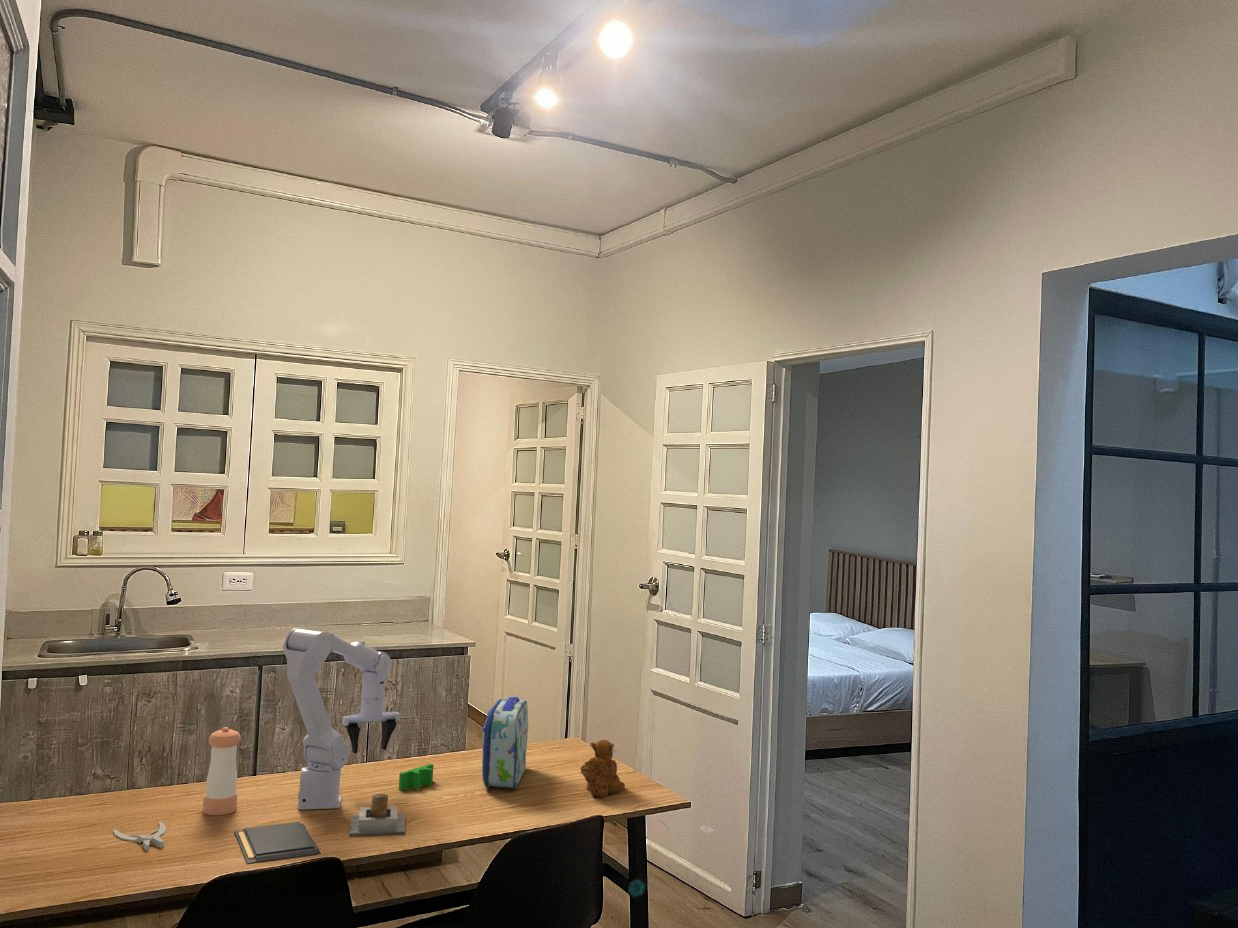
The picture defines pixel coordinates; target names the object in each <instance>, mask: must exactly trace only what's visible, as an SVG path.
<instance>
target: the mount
mask: <svg viewBox="0 0 1238 928" xmlns="http://www.w3.org/2000/svg"><path fill="white" fill-rule="evenodd" d="M370 814H371V806H370V807H369V806H368V807H359V814H351V817H350V824H349V833H348V836H349V837H362V836H363V837H364V836H365V837H366V836H367V837H370V836H391V835H392V836H394V835H405V834H406V826H405V824H406V821H405V820H406V819H405V813H404V812H402V813H401V812H400V813H398V806H387V816H386V817H373V818H370Z"/></svg>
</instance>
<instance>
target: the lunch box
mask: <svg viewBox="0 0 1238 928" xmlns="http://www.w3.org/2000/svg"><path fill="white" fill-rule="evenodd" d="M486 713H487V714H486V720H485V723H484V724H483V727H482V759H481V764H482V767H481V770H482V772H481V773H482V782H483V786H485V787H489V786H490V787H495V788H511V789H515V788H518V785H519V783H520V781H521V779H522V776H523V774H524V772H525V770H526V766H527V747H528V735H529V734H528V733H529V707H528V701H526V700H525V699H520V698H519V696H509V697H508V698H504V699H502V698H499V699H498V700H496V702H495V703H494V705H493V706H492V707H491V708H490V709H489V710H488V711H487V712H486Z"/></svg>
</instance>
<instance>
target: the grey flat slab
mask: <svg viewBox="0 0 1238 928" xmlns="http://www.w3.org/2000/svg"><path fill="white" fill-rule="evenodd" d="M233 834H234V837H235V839H236V842H237V843H238V846H239V847H240V851H241V853H242V856H243V858H244V862H245V864H246V865H252V864H260V863H269V862H275V861H283V860H290V859H292V860H293V859H298V858H306V857H307V858H308V857H311V856H312V857H313V856H317V855H321V854H322V852H321V850H320V849H319V847H318V845H317V843H315V840H313V838H312V836H311V834H310V833H309V831H308V828H307V827H306V826H305V824H303V823H301V822H300V821H294V822H292V821H291V822H284V823H275V824H270V825H269V824H268V825H262V826H255V827H254V826H253V827H245V828H243V829H242V830H241V829H240V830H234V831H233Z"/></svg>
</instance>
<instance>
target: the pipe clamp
mask: <svg viewBox="0 0 1238 928" xmlns="http://www.w3.org/2000/svg"><path fill="white" fill-rule="evenodd" d="M433 778H434V764H433V763H429V764H425V765H422V766H419V767H415V768H413V769H410V770H406V771H402V772H400V773H399V779H398V780H399V781H398V791H400V790H403V791H405V789H406V790H408V789H407V788H409V789H411V788H414V789H413V790H415V789H417V790H416V791H419V790H420V787H422V786H421V785H429V786H428V787H431V786H430V785H432V786H433ZM418 789H419V790H418Z"/></svg>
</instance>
